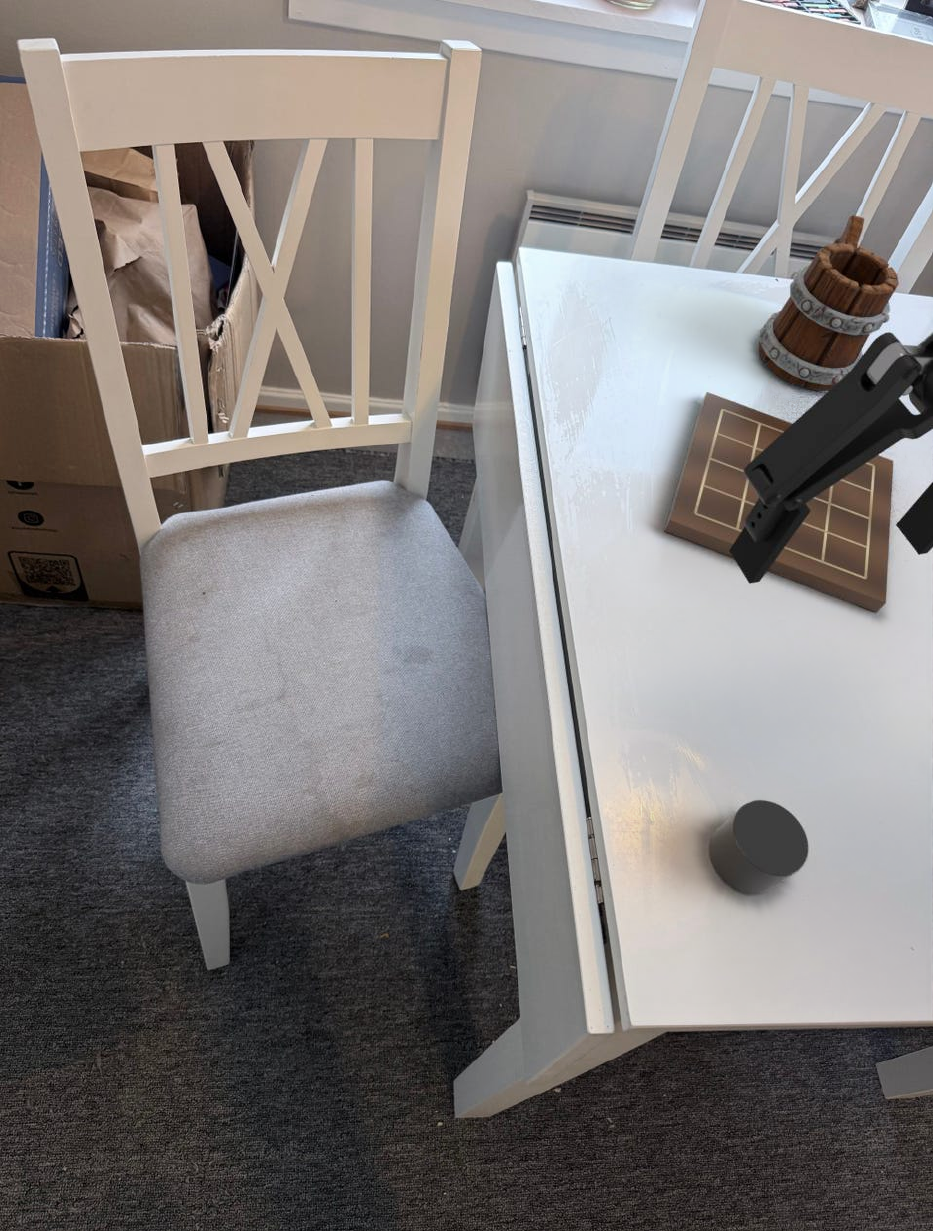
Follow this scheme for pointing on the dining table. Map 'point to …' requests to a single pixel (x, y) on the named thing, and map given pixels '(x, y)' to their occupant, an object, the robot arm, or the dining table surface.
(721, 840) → the dark grey puck
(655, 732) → the dining table surface
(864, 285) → the mug
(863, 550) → the board
